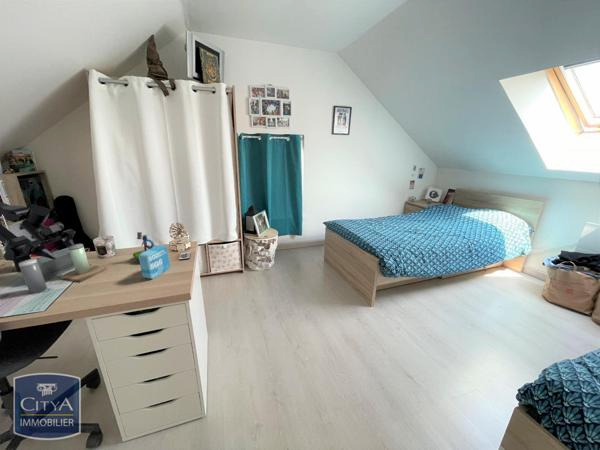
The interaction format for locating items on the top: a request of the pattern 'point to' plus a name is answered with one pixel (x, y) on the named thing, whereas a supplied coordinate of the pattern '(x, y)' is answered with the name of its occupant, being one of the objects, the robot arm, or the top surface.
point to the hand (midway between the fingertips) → (65, 254)
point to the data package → (154, 262)
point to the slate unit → (55, 264)
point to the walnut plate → (82, 277)
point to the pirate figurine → (144, 238)
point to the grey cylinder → (33, 276)
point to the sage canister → (79, 258)
